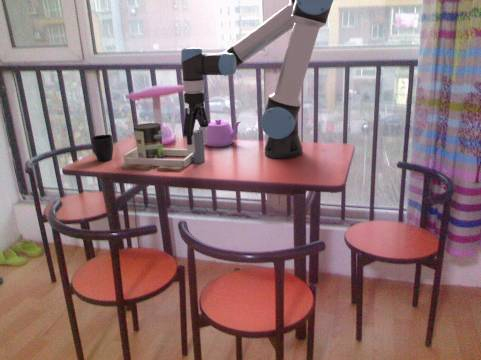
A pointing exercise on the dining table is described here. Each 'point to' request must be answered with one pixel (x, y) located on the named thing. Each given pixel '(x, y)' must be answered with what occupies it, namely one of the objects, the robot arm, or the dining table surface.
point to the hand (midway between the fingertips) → (197, 147)
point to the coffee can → (149, 140)
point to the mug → (103, 147)
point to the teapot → (220, 133)
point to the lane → (191, 157)
